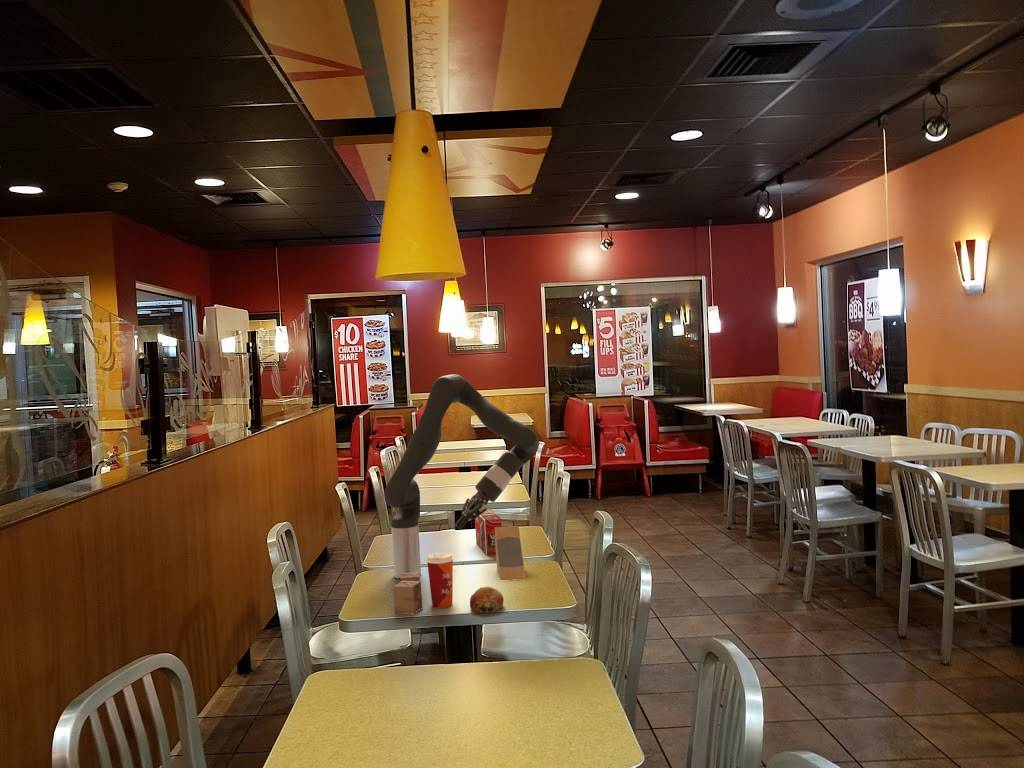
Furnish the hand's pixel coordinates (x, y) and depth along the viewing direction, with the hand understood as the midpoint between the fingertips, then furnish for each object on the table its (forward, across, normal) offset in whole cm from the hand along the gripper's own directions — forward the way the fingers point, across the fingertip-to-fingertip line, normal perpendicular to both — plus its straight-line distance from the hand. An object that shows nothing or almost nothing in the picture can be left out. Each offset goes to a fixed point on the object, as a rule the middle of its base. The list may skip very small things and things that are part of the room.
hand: (457, 527), depth 247 cm
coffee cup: (+20, 0, +12) cm, 24 cm away
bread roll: (+13, +10, +19) cm, 25 cm away
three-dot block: (+28, 0, +4) cm, 28 cm away
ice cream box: (-7, -61, +39) cm, 73 cm away
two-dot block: (+25, -10, +7) cm, 28 cm away
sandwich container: (-2, -21, +34) cm, 40 cm away
